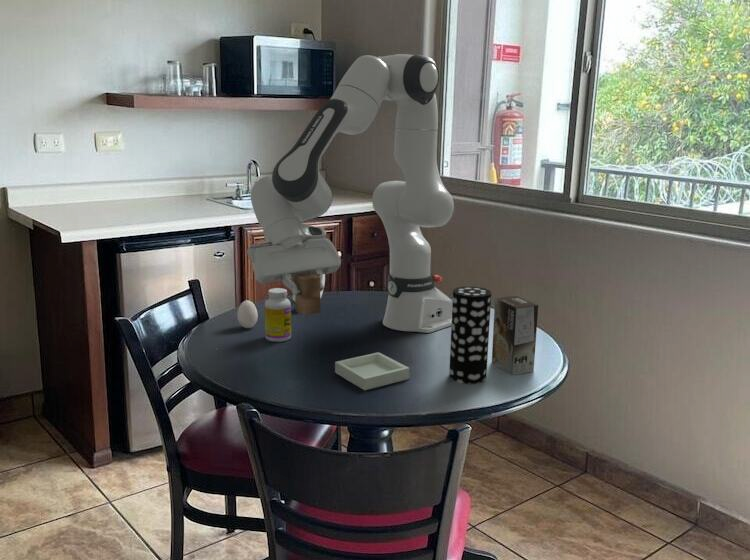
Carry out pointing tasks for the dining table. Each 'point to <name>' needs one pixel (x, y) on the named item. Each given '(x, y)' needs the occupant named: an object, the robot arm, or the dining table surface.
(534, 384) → the dining table surface
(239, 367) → the dining table surface
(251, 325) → the egg
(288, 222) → the robot arm
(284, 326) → the supplement bottle
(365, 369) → the dish
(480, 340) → the spotted tube
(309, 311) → the block
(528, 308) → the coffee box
